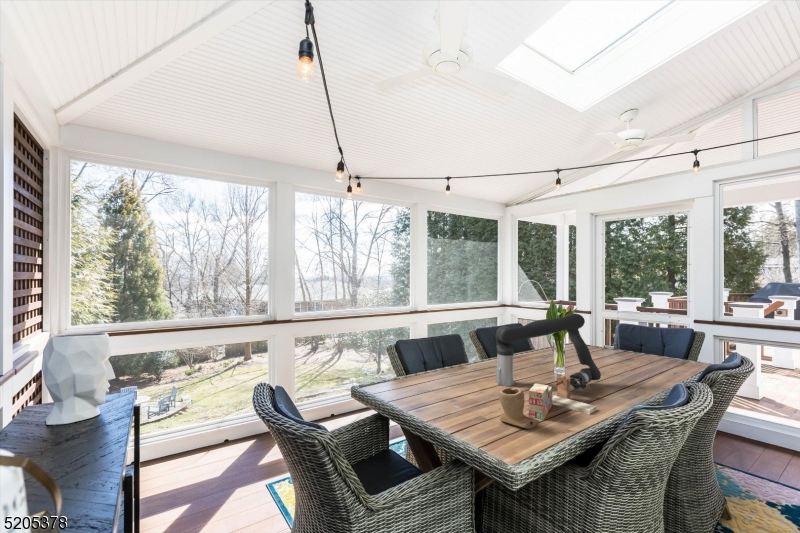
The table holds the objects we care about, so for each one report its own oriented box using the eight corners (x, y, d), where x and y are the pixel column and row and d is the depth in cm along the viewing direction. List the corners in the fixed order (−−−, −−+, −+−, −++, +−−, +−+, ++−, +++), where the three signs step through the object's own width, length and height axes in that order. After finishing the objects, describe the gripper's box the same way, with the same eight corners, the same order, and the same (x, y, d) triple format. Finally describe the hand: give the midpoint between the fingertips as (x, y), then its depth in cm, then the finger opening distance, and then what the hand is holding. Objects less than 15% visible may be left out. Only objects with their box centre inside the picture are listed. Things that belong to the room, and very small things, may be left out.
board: (547, 402, 181) (547, 398, 181) (554, 398, 186) (554, 395, 186) (589, 414, 166) (589, 410, 166) (596, 410, 171) (596, 406, 171)
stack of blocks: (539, 403, 180) (539, 378, 181) (552, 405, 177) (552, 380, 177) (528, 417, 162) (528, 389, 163) (543, 420, 159) (543, 392, 159)
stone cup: (493, 422, 156) (493, 387, 156) (508, 415, 164) (508, 382, 164) (525, 434, 145) (525, 396, 145) (539, 426, 153) (540, 390, 153)
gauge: (561, 397, 189) (561, 374, 189) (570, 399, 186) (570, 376, 186) (552, 402, 182) (552, 378, 182) (561, 404, 178) (561, 380, 179)
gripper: (565, 369, 204) (553, 375, 193) (592, 375, 194) (580, 381, 183) (565, 383, 204) (552, 389, 193) (592, 389, 194) (580, 396, 183)
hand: (566, 385), depth 188 cm, fingers open, 8 cm apart
